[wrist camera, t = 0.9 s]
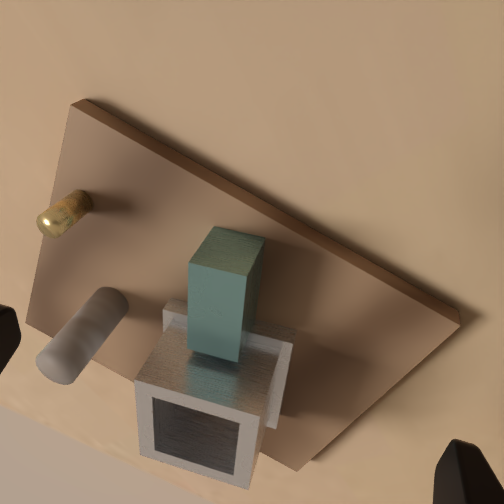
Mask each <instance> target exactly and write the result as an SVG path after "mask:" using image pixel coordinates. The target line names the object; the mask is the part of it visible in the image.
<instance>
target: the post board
mask: <svg viewBox="0 0 504 504" xmlns="http://www.w3.org/2000/svg"><path fill="white" fill-rule="evenodd" d="M77 189H79V190H83V191H85V192H86V193H87V194H89V196H90V197H91V198H92V201H93V209H92V210H91V211H90V212H89V213H87V214H86V215H85V216H84V217H83V218H81V219H80V220H79V221H78V222H77V223H75V224H74V225H73V226H72V227H70V228H69V229H68V230H67V231H66V232H64V233H63V234H62V235H61V236H60V237H58V238H49V237H47V236H45V235H43V240H42V245H41V250H40V254H39V259H38V264H37V269H36V274H35V279H34V283H33V288H32V293H31V298H30V303H29V308H28V313H27V317H26V322H25V323H26V324H28V325H30V326H32V327H34V328H36V329H37V330H39V331H41V332H43V333H45V334H46V335H48V336H50V337H52V338H53V339H52V340H51V341H50V342H49V343H48V344H47V345H46V346H45V348H44V349H43V350H42V351H41V352H40V353H39V354H38V355H37V357H36V365H37V367H38V369H39V370H40V371H41V373H42V374H43V375H44V376H46V377H47V378H48V379H50V380H51V381H53V382H56V383H58V384H63V385H68V384H71V383H73V382H74V381H75V379H76V378H77V377H78V375H79V374H80V373H81V372H82V370H83V369H84V368H85V366H86V365H87V364H88V362H89V361H90V360H91V359H92V360H94V361H96V362H98V363H99V364H101V365H103V366H105V367H107V368H108V369H110V370H112V371H114V372H116V373H118V374H119V375H121V376H123V377H125V378H127V379H129V380H130V381H132V382H134V379H135V377H136V376H137V374H138V373H139V371H140V369H141V368H142V366H143V365H144V363H145V362H146V360H147V358H148V357H149V355H150V354H151V352H152V351H153V349H154V347H155V346H156V344H157V343H158V341H159V339H160V338H161V336H162V335H163V308H164V307H165V305H166V304H167V302H168V301H169V299H170V298H175V299H179V300H183V301H187V302H188V262H189V261H190V259H191V258H192V256H193V255H194V254H195V252H196V251H197V249H198V248H199V246H200V245H201V244H202V242H203V241H204V239H205V238H206V236H207V235H208V234H209V232H210V231H211V229H212V228H213V226H216V227H221V228H225V229H230V230H234V231H239V232H243V233H247V234H252V235H256V236H261V237H265V238H266V240H265V248H264V256H263V264H262V272H261V280H260V287H259V295H258V303H257V311H256V319H257V320H261V321H265V322H268V323H272V324H276V325H280V326H284V327H288V328H292V329H296V330H297V332H296V337H295V342H294V347H293V352H292V357H291V362H290V367H289V372H288V377H287V382H286V388H285V393H284V398H283V403H282V408H281V413H280V417H279V421H278V424H277V428H276V429H273V428H270V427H267V428H266V431H265V434H264V438H263V441H262V445H261V448H260V452H262V453H263V454H265V455H267V456H269V457H271V458H273V459H274V460H276V461H278V462H280V463H282V464H284V465H285V466H287V467H289V468H291V469H293V470H294V471H296V472H297V471H298V470H299V469H301V468H302V467H303V466H304V465H305V464H306V463H307V462H308V461H310V460H311V459H312V458H313V457H314V456H315V455H316V454H317V453H319V452H320V451H321V450H322V449H323V448H324V447H325V446H326V445H328V444H329V443H330V442H331V441H332V440H333V439H334V438H335V437H336V436H338V435H339V434H340V433H341V432H342V431H343V430H344V429H345V428H347V427H348V426H349V425H350V424H351V423H352V422H353V421H354V420H356V419H357V418H358V417H359V416H360V415H361V414H362V413H363V412H365V411H366V410H367V409H368V408H369V407H370V406H371V405H372V404H374V403H375V402H376V401H377V400H378V399H379V398H380V397H381V396H383V395H384V394H385V393H386V392H387V391H388V390H389V389H390V388H392V387H393V386H394V385H395V384H396V383H397V382H398V381H399V380H401V379H402V378H403V377H404V376H405V375H406V374H407V373H408V372H409V371H411V370H412V369H413V368H414V367H415V366H416V365H417V364H418V363H420V362H421V361H422V360H423V359H424V358H425V357H426V356H427V355H429V354H430V353H431V352H432V351H433V350H434V349H435V348H436V347H438V346H439V345H440V344H441V343H442V342H443V341H444V340H445V339H447V338H448V337H449V336H450V335H451V334H452V333H453V332H454V331H456V330H457V329H458V328H459V327H460V326H461V325H460V318H459V311H457V310H455V309H453V308H452V307H450V306H448V305H446V304H445V303H443V302H441V301H439V300H438V299H436V298H434V297H432V296H431V295H429V294H427V293H425V292H424V291H422V290H420V289H418V288H416V287H415V286H413V285H411V284H409V283H408V282H406V281H404V280H402V279H401V278H399V277H397V276H395V275H394V274H392V273H390V272H388V271H386V270H385V269H383V268H381V267H379V266H378V265H376V264H374V263H372V262H371V261H369V260H367V259H365V258H364V257H362V256H360V255H358V254H357V253H355V252H353V251H351V250H349V249H348V248H346V247H344V246H342V245H341V244H339V243H337V242H335V241H334V240H332V239H330V238H328V237H327V236H325V235H323V234H321V233H320V232H318V231H316V230H314V229H312V228H311V227H309V226H307V225H305V224H304V223H302V222H300V221H298V220H297V219H295V218H293V217H291V216H290V215H288V214H286V213H284V212H283V211H281V210H279V209H277V208H275V207H274V206H272V205H270V204H268V203H267V202H265V201H263V200H261V199H260V198H258V197H256V196H254V195H253V194H251V193H249V192H247V191H245V190H244V189H242V188H240V187H238V186H237V185H235V184H233V183H231V182H230V181H228V180H226V179H224V178H223V177H221V176H219V175H217V174H216V173H214V172H212V171H210V170H208V169H207V168H205V167H203V166H201V165H200V164H198V163H196V162H194V161H193V160H191V159H189V158H187V157H186V156H184V155H182V154H180V153H179V152H177V151H175V150H173V149H171V148H170V147H168V146H166V145H164V144H163V143H161V142H159V141H157V140H156V139H154V138H152V137H150V136H149V135H147V134H145V133H143V132H141V131H140V130H138V129H136V128H134V127H133V126H131V125H129V124H127V123H126V122H124V121H122V120H120V119H119V118H117V117H115V116H113V115H112V114H110V113H108V112H106V111H104V110H103V109H101V108H99V107H97V106H96V105H94V104H92V103H90V102H89V101H87V100H85V99H82V100H80V101H78V102H76V103H73V104H71V105H70V109H69V114H68V119H67V124H66V129H65V133H64V138H63V143H62V148H61V153H60V158H59V162H58V167H57V172H56V177H55V182H54V187H53V191H52V196H51V201H50V206H49V208H50V207H51V206H53V205H54V204H56V203H57V202H58V201H60V200H61V199H62V198H64V197H65V196H67V195H68V194H69V193H71V192H72V191H74V190H77Z"/></svg>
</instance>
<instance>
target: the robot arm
mask: <svg viewBox="0 0 504 504" xmlns="http://www.w3.org/2000/svg"><path fill="white" fill-rule="evenodd" d="M20 341H21V332H20V328H19V324H18V320H17V315H16V312H15V310H14V309H13V308H11V307H8V306H5V305H2V304H0V374H1V372H2V371H3V369H4V368H5V366H6V365H7V363H8V362H9V360H10V359H11V357H12V355H13V354H14V352H15V351H16V349H17V348H18V346H19V344H20ZM433 504H504V489H503V487H502V486H501V484H500V482H499V481H498V479H497V477H496V476H495V474H494V472H493V470H492V469H491V467H490V465H489V464H488V462H487V460H486V459H485V457H484V455H483V454H482V452H481V450H480V449H479V448H478V447H477V446H476V445H474V444H472V443H468V442H465V441H462V440H458V439H453V440H452V441H451V442H450V443H449V445H448V446H447V448H446V450H445V451H444V453H443V455H442V457H441V458H440V460H439V462H438V464H437V466H436V470H435V477H434V492H433Z"/></svg>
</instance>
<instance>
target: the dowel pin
mask: <svg viewBox="0 0 504 504" xmlns="http://www.w3.org/2000/svg"><path fill="white" fill-rule="evenodd" d="M92 209H93V201H92V198H91V197H90V196H89V194H87V193H86V192H85V191H83V190H79V189H77V190H74V191H72V192H71V193H69V194H68V195H67V196H65V197H64V198H62V199H61V200H60V201H58V202H57V203H56V204H54V205H53V206H51V207H50V208H49V209H47V210H46V211H44V212H43V213H42V214H40V215H39V216H38V217H37V220H36V222H37V226H38V228H39V230H40V231H41V232H42V233H43V234H44V235H45V236H47V237H49V238H58V237H60V236H61V235H62V234H63V233H64V232H66V231H67V230H68V229H69V228H70V227H72V226H73V225H74V224H75V223H77V222H78V221H79V220H80V219H81V218H83V217H84V216H85V215H86V214H87V213H89V212H90V211H91V210H92Z"/></svg>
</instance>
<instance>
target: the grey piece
mask: <svg viewBox="0 0 504 504" xmlns="http://www.w3.org/2000/svg"><path fill="white" fill-rule="evenodd" d="M265 240H266V238H265V237H261V236H256V235H252V234H247V233H243V232H239V231H234V230H230V229H225V228H221V227H216V226H213V228H212V229H211V231H210V232H209V234H208V235H207V236H206V238H205V239H204V241H203V242H202V244H201V245H200V246H199V248H198V249H197V251H196V252H195V254H194V255H193V256H192V258H191V259H190V261H189V262H188V302H187V301H183V300H179V299H175V298H170V299H169V301H168V302H167V304H166V305H165V307H164V308H163V335H162V336H161V338H160V339H159V341H158V343H157V344H156V346H155V347H154V349H153V351H152V352H151V354H150V355H149V357H148V358H147V360H146V362H145V363H144V365H143V366H142V368H141V369H140V371H139V373H138V374H137V376H136V377H135V379H134V384H135V397H136V409H137V422H138V434H139V447H140V455H142V456H145V457H148V458H151V459H154V460H157V461H160V462H163V463H167V464H170V465H173V466H176V467H179V468H182V469H185V470H188V471H191V472H194V473H197V474H200V475H204V476H207V477H210V478H213V479H216V480H219V481H222V482H225V483H228V484H231V485H234V486H237V487H240V488H244V489H247V490H248V489H249V486H250V483H251V479H252V476H253V472H254V469H255V465H256V462H257V459H258V455H259V452H260V448H261V445H262V441H263V438H264V434H265V431H266V428H267V427H270V428H273V429H276V428H277V424H278V421H279V417H280V413H281V408H282V403H283V398H284V393H285V388H286V382H287V377H288V372H289V367H290V362H291V357H292V352H293V347H294V342H295V337H296V332H297V330H296V329H292V328H288V327H284V326H280V325H276V324H272V323H268V322H265V321H261V320H257V319H256V311H257V303H258V295H259V287H260V280H261V272H262V264H263V256H264V248H265Z"/></svg>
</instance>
